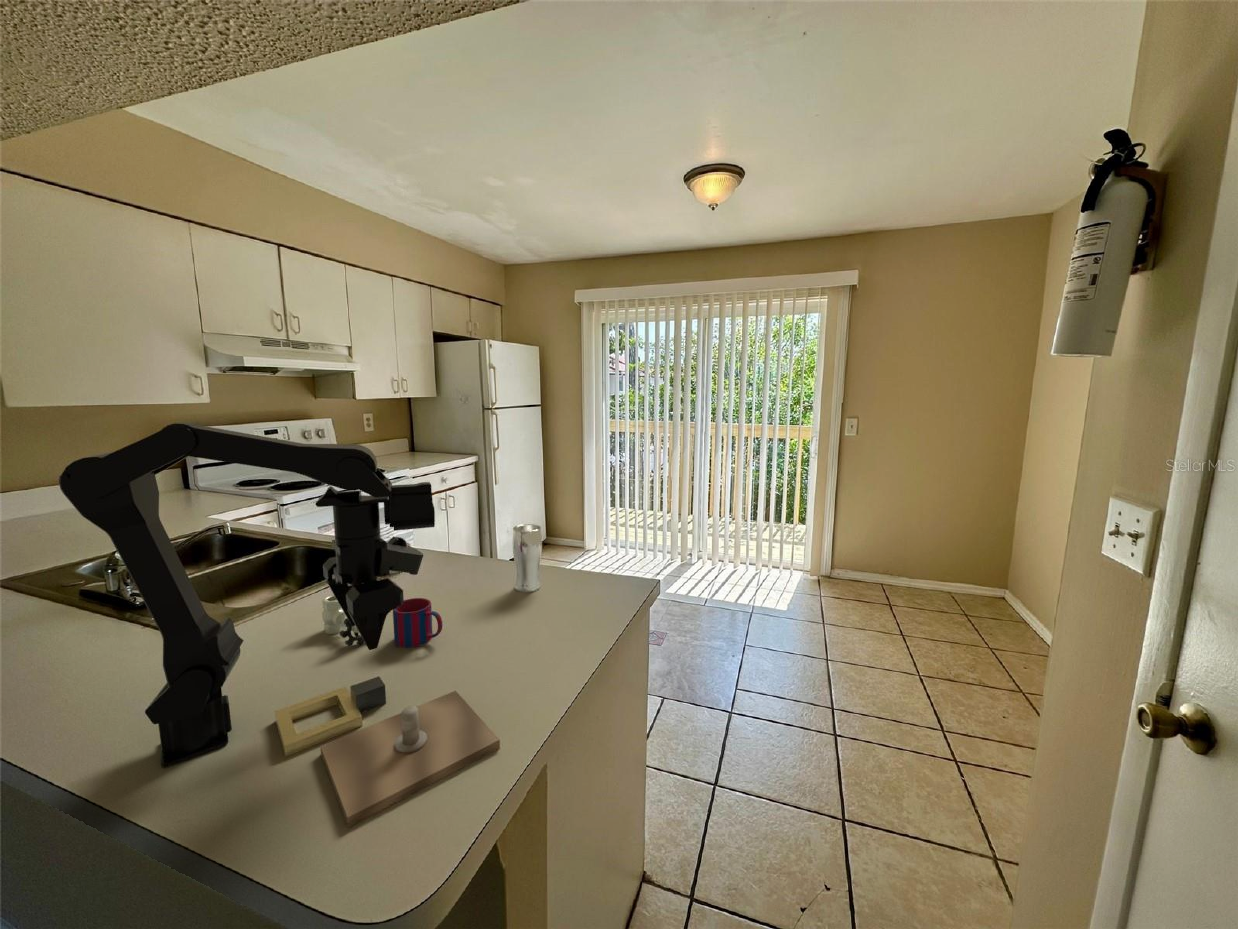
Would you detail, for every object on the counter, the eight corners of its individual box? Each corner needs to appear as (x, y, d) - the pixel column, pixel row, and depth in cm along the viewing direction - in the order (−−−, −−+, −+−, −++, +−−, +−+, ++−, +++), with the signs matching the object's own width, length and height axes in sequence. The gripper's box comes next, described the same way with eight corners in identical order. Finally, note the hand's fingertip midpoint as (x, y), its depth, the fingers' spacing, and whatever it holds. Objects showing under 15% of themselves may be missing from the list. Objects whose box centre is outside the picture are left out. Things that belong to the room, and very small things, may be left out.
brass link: (285, 756, 61) (283, 735, 61) (275, 721, 68) (273, 701, 68) (392, 713, 70) (391, 694, 70) (374, 685, 77) (373, 667, 76)
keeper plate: (348, 827, 52) (344, 780, 51) (321, 754, 62) (317, 714, 61) (499, 747, 63) (499, 708, 63) (455, 697, 74) (454, 663, 73)
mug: (416, 627, 96) (414, 595, 95) (452, 639, 91) (451, 606, 90) (386, 642, 90) (384, 608, 89) (423, 656, 85) (422, 620, 84)
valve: (312, 633, 93) (343, 653, 86) (310, 601, 92) (341, 618, 85) (347, 620, 98) (379, 638, 92) (345, 590, 97) (377, 605, 91)
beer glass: (507, 591, 114) (506, 530, 112) (521, 580, 121) (521, 522, 119) (534, 595, 112) (533, 533, 110) (547, 584, 119) (546, 525, 117)
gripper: (439, 538, 67) (443, 643, 69) (396, 512, 80) (400, 600, 83) (350, 554, 59) (357, 671, 61) (319, 523, 73) (326, 620, 75)
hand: (363, 636), depth 70 cm, fingers open, 9 cm apart
